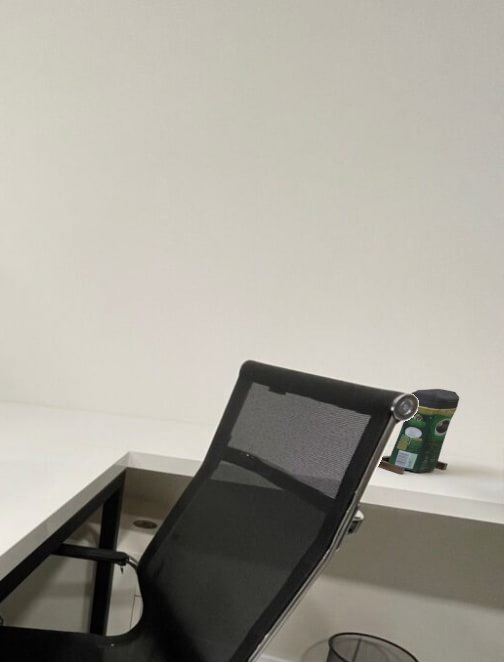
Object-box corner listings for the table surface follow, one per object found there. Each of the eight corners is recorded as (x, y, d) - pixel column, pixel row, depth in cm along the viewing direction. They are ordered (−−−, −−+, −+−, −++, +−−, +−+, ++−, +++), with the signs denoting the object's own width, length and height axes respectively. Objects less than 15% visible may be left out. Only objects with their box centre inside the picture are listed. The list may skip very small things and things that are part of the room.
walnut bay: (445, 469, 131) (448, 463, 130) (400, 474, 125) (402, 468, 124) (412, 459, 137) (414, 453, 137) (367, 463, 132) (369, 457, 131)
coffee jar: (406, 460, 136) (432, 385, 129) (440, 471, 129) (470, 392, 122) (380, 463, 132) (406, 386, 125) (414, 474, 125) (443, 393, 118)
